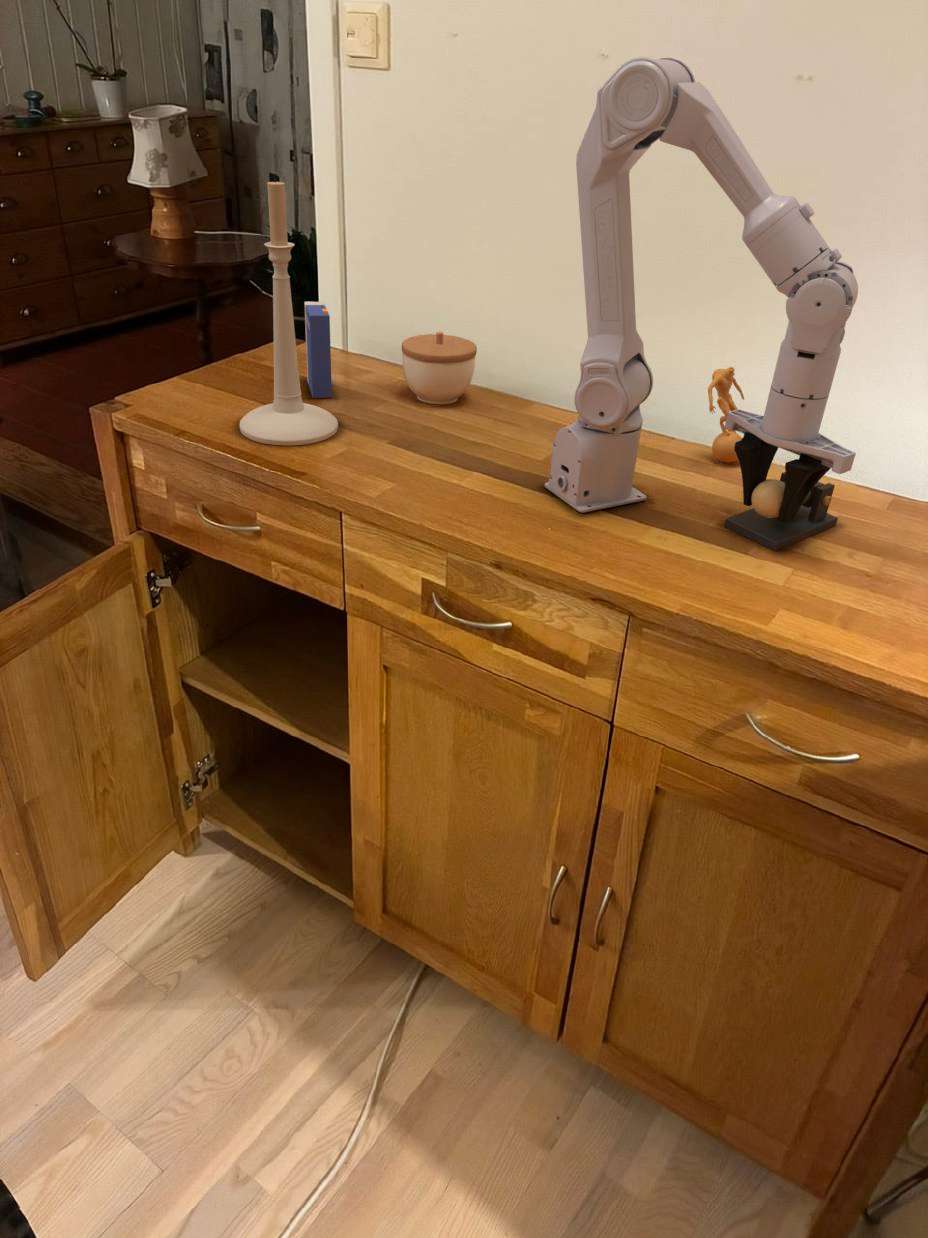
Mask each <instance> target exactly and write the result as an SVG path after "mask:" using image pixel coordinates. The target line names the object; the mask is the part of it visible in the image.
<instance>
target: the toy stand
mask: <svg viewBox="0 0 928 1238" xmlns="http://www.w3.org/2000/svg"><path fill="white" fill-rule="evenodd" d="M785 475H786V474H785V471H784V472H781V474H780V478H779V480H780V481H782V482H784V483H785ZM835 487H836V485H835V484H833V483H831V482H827V483H824V485H822V486H819V487H817V488H816V492H815V496H814V499H813V503H812V506H811V507H809V508H807V507H805V506H802V505H801V506H800V508H799V510H798V512H797V514H796V516H795V518H794V519H792V520H789V521H787V522H781V521H779V520H778V518H779V517H776V518H766V517H763V516H761V515H759V514H758V513H757V512H756V511H755V510H754V508H753V507H752V508H750V509H747V510H745V511H742V512H739V513H736V514H734V515H732V516H729V517H726V518H725V519H724V524H723V527H725V528H726V529H729V530H730V531H733V532H735V533H737V534H739V535H741V536H743V537H745V538H747V539H749V540H752V541H753V542H755V543H758V544H760V545H762V546H764V547H766V548H768V549H770V550H773V551H774V552H777V551H779V550H781V549H785V548H786V547H789V546H791V545H793V544H795V543H797V542H800V541H802V540H805V539H807V538H809V537H812V536H814V535H816V534H818V533H822V532H824V531H826V530H828V529H831V528H833V527H836V526H837V523H838V520H839V517H837V516H835V515H833V514H830V513H829V512H828V511H829V507H830V504H831V502H832V500H833V499H832V498H833V494H834V490H835Z"/></svg>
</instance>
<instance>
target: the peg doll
mask: <svg viewBox="0 0 928 1238" xmlns="http://www.w3.org/2000/svg"><path fill="white" fill-rule="evenodd" d="M822 485H825V483H823V482H820V481H818V482H817V483H816V485H815V486H814V487H813V488H812V490H811V491H810V492H809V494H808V495H807V497H806V498H805V500H804V501H803V503H802V506H805V507H807V508H809V507H811V506H812V503H813V499H814V496H815V492H816V488H817V487H819V486H822ZM784 489H785V483H784V482H782V481H780V479H776V478H774V479H772V478H769V479H766V480H765V481H763V482H761V483H760V484H758V485H757V486H756V488H755V489H754V491H753V493H752V498H751V501H752V505H751V506H752V508H754V510H755V511H756V512H757V513H758V514H759V515H761V516H763V517H766V518H776V517H779V511H780V507H781V503H782V499H783V495H784Z"/></svg>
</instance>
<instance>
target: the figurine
mask: <svg viewBox="0 0 928 1238" xmlns="http://www.w3.org/2000/svg"><path fill="white" fill-rule="evenodd" d="M735 371H736V370H735V368H734V366H729V367H727V368H717V369H715V370H714V371H713V373H712V375H711V378H712V381H711V382H710V384H709V385H708V387H707V395H708V402H709V406H708V409H709V410H708V411H709V413H710V414H712V415H713V413H714V414H716V412H715V410H717V408H716V407H715V406H714V404H713V401H714V397H713V389H714V388H715V389H716V393H717V396H718V398H717V400H716V403H717V406H718V408H719V409H720V411H721V413H722V414H723V415H722V416H720V418H719V426H720V429H721V431H722V432H721V433H719V434H718V435H717V436H715V438H714V440H713V441H712V444H711V445H712V446H711V450H712V454H713V456H714V457H715V458H716V460H718V461H720V462H722V463H727V464H728V463H733V462H737V460H738V457H737V454H736V452H735V450H734V447H735V443H736V442H738V441H741V440H742V438H743V437H742V436H741V435H740V434H739V433H738V432H737V431H736V430H735V431H729V430H726V429H725V423H726V418H727V414H728V412H730V411H734V410H738V409H739V408H738V407H737V406H736V404H735V402H734V400H733V397H732V394H731V393H730V390H731V388H732V386H734V387H735V389H736V390H737V391H738V393H739V395H740V397H741V399H742V400H743V401H745V396H744V393H743V390H742V388H741V387H740V386H741V385H739V384H738V383H737V380H736V378H735V377H734V376H735V374H736V373H735ZM724 422H725V423H724Z"/></svg>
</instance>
